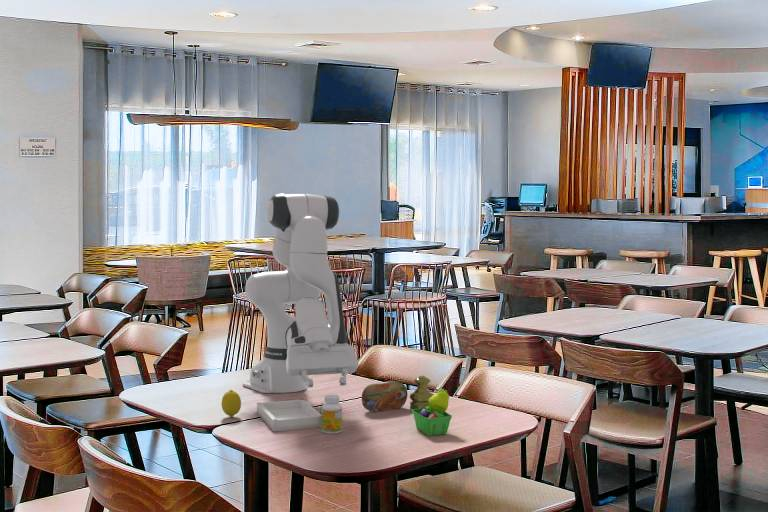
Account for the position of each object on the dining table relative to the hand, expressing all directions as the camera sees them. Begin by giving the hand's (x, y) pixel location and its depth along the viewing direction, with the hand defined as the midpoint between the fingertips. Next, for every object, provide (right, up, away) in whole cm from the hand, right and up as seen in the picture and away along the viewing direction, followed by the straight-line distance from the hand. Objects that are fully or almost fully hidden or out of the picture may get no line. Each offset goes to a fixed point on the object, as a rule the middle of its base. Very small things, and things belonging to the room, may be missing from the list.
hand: (327, 385), depth 252 cm
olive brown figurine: (+27, -11, +22) cm, 37 cm away
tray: (-11, -11, +10) cm, 19 cm away
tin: (+16, -11, +22) cm, 29 cm away
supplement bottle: (+2, -12, -3) cm, 13 cm away
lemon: (-28, -11, +13) cm, 33 cm away
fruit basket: (+29, -12, -2) cm, 32 cm away
